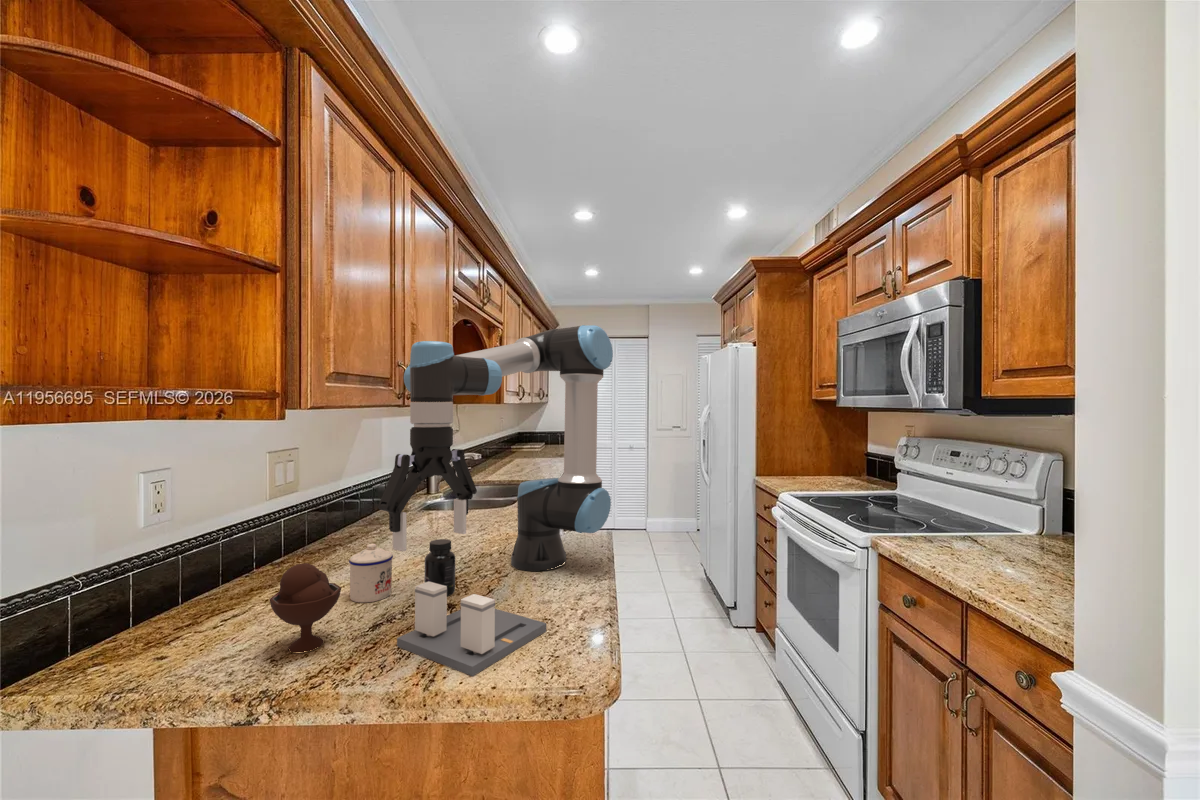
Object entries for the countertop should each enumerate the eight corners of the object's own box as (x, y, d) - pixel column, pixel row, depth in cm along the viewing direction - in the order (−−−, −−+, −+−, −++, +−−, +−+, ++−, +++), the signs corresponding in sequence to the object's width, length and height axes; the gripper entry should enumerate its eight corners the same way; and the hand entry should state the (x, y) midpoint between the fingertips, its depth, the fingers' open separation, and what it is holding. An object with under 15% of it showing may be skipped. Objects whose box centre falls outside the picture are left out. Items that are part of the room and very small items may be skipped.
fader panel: (475, 610, 105) (475, 602, 105) (546, 631, 95) (546, 622, 95) (396, 646, 89) (396, 637, 89) (472, 676, 79) (472, 666, 79)
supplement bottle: (417, 597, 112) (418, 543, 113) (436, 586, 119) (437, 536, 119) (443, 600, 110) (443, 546, 110) (461, 590, 117) (461, 539, 117)
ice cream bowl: (342, 650, 87) (342, 565, 87) (266, 667, 82) (266, 575, 82) (340, 627, 96) (340, 550, 97) (271, 641, 91) (272, 559, 91)
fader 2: (473, 645, 87) (473, 593, 87) (495, 652, 85) (495, 599, 85) (460, 652, 85) (460, 599, 85) (481, 660, 82) (481, 605, 82)
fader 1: (428, 629, 94) (428, 581, 94) (446, 635, 91) (447, 586, 91) (414, 635, 91) (414, 586, 91) (433, 642, 88) (433, 591, 88)
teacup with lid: (381, 603, 109) (382, 550, 109) (340, 603, 109) (341, 550, 109) (404, 584, 121) (404, 536, 121) (366, 584, 121) (367, 536, 121)
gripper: (468, 423, 104) (468, 524, 104) (356, 427, 83) (355, 554, 83) (494, 423, 100) (494, 529, 100) (383, 428, 79) (383, 562, 79)
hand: (431, 541), depth 91 cm, fingers open, 13 cm apart
